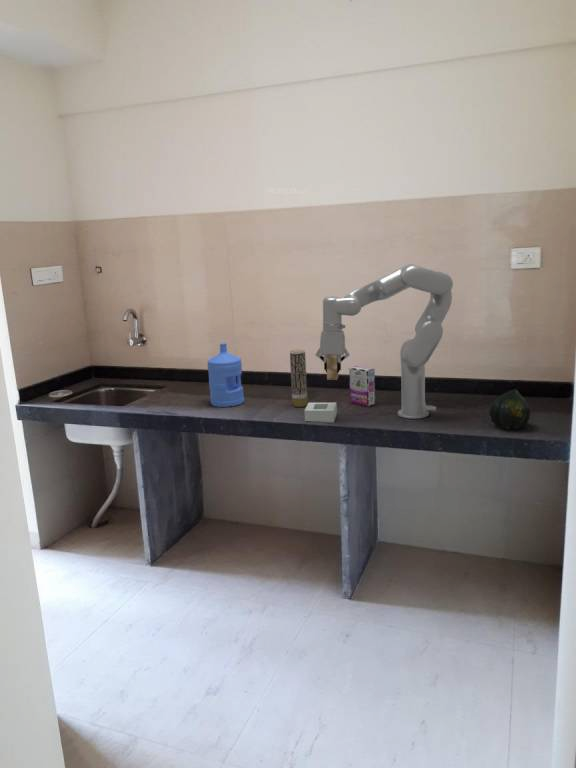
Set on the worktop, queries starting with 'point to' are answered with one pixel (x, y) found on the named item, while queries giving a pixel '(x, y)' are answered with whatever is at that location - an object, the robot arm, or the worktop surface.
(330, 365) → the maple key peg
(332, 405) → the sage socket block
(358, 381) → the candy bar box
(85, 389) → the worktop surface
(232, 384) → the water jug
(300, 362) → the paper tube
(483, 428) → the worktop surface
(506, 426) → the squash
